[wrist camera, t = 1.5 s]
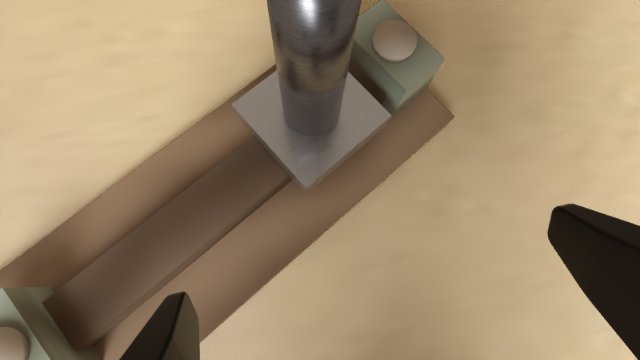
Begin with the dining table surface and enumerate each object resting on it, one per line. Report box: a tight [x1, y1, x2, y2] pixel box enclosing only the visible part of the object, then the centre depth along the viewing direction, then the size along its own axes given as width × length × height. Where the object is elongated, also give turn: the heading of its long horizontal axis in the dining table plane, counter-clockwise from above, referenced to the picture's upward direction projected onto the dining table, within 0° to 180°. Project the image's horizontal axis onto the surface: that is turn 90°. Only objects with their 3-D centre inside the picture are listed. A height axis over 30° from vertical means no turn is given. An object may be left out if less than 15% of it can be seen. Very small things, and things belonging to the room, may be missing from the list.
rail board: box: [0, 0, 454, 360], centre depth 21 cm, size 10×27×5 cm, turn 131°
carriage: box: [231, 0, 392, 194], centre depth 17 cm, size 6×6×11 cm
